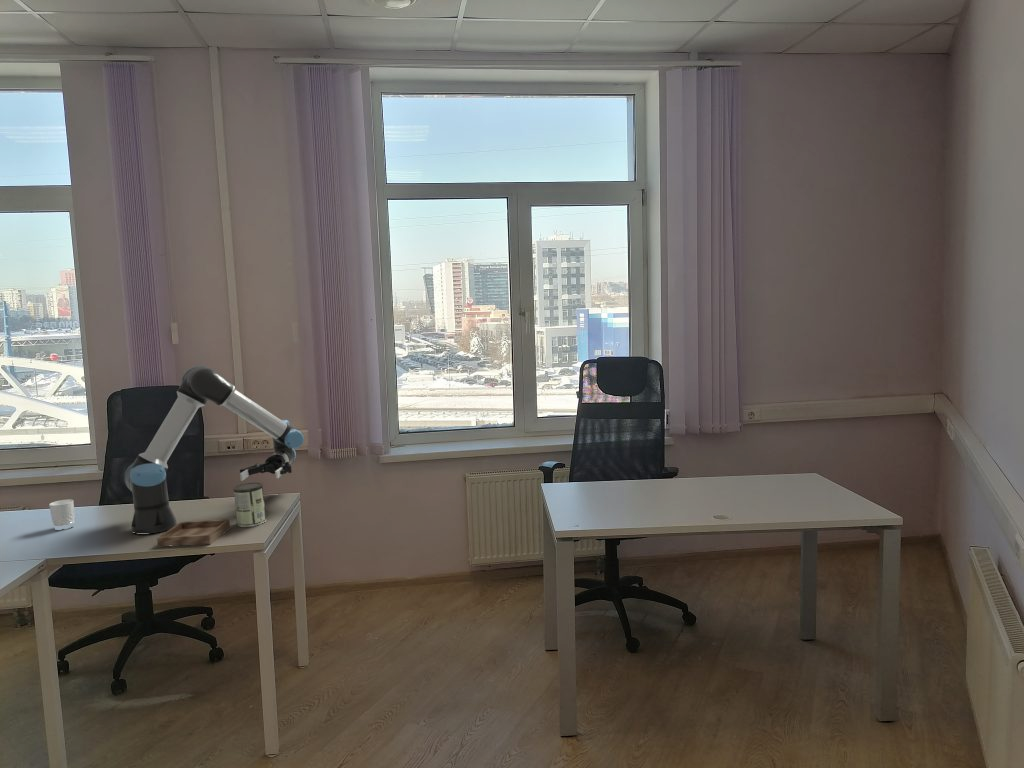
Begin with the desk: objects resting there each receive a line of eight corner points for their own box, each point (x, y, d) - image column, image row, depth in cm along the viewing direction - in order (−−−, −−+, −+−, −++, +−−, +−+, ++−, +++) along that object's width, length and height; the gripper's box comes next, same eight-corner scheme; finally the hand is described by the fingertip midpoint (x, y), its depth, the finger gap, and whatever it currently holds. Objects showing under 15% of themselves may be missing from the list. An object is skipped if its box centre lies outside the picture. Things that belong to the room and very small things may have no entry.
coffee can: (244, 519, 286) (240, 482, 284) (270, 518, 285) (266, 481, 283) (232, 527, 276) (228, 490, 274) (259, 526, 275) (256, 489, 273)
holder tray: (158, 547, 258) (157, 538, 258) (181, 530, 276) (180, 521, 276) (210, 544, 258) (209, 535, 257) (230, 527, 276) (229, 519, 275)
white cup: (76, 528, 287) (73, 502, 285) (52, 532, 283) (49, 506, 281) (76, 523, 293) (73, 498, 292) (52, 527, 289) (49, 502, 288)
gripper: (307, 469, 310) (292, 483, 289) (247, 473, 311) (227, 487, 290) (305, 451, 309) (290, 464, 288) (245, 455, 310) (225, 468, 289)
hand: (258, 476), depth 289 cm, fingers open, 13 cm apart
